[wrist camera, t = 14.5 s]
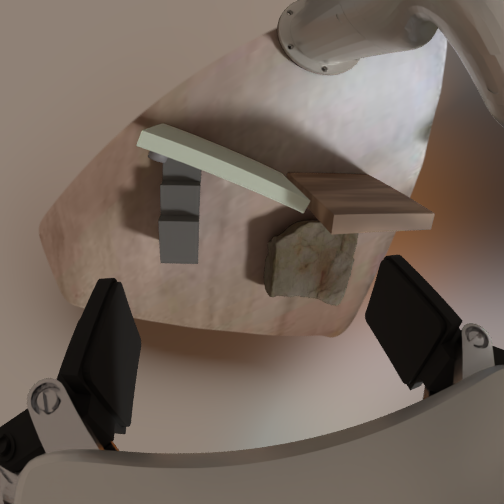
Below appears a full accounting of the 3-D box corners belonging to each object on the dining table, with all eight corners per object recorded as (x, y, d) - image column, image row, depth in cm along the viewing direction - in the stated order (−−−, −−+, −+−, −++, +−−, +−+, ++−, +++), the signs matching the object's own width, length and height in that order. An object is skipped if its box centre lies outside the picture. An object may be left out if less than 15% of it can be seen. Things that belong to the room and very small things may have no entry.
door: (162, 123, 31) (142, 130, 21) (280, 172, 37) (310, 200, 27) (155, 141, 32) (131, 158, 22) (272, 189, 38) (297, 223, 28)
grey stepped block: (165, 149, 34) (158, 156, 29) (202, 149, 35) (201, 157, 29) (165, 242, 40) (160, 263, 35) (198, 242, 41) (197, 263, 36)
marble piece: (333, 295, 52) (342, 309, 48) (259, 299, 49) (263, 314, 46) (356, 215, 44) (368, 226, 40) (270, 211, 41) (277, 222, 37)
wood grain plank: (287, 172, 38) (334, 214, 24) (368, 174, 40) (434, 213, 26) (286, 185, 39) (331, 234, 25) (366, 186, 41) (430, 229, 27)
